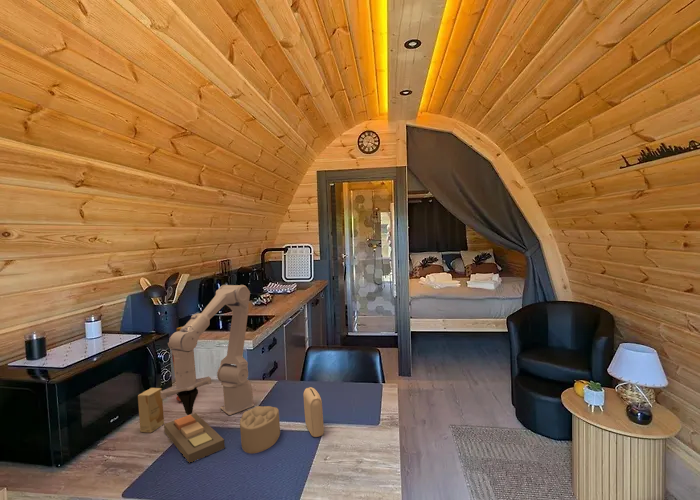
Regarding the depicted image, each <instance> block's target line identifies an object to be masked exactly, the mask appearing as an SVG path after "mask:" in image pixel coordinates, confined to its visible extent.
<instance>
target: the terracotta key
mask: <svg viewBox="0 0 700 500" xmlns="http://www.w3.org/2000/svg"><path fill="white" fill-rule="evenodd" d="M173 421H174V424H175V427H176V428H177V429H178V430H181V428H182V427H185V426H188V425H191V424H193V423H196V420H195V419H194V418H193V417H192V416H191V414H190V415H185V416H182V417H180V418H177V419H174V420H173Z"/></svg>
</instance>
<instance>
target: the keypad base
mask: <svg viewBox="0 0 700 500" xmlns="http://www.w3.org/2000/svg"><path fill="white" fill-rule="evenodd" d="M190 415H191V416H192V417H193V418H194V419H195V420H196V422H198V423H199V424H200V425H201V426H203V428H204V432H202V433H199V434H197V435H194V436H192V437H189V438H187V439H186V438H185V437H184V436H183V435H182V434H181V430H178V429H177V428H176V427H175V424H174V420H172V421H170V422H167V423H164V424H163V429H164V433H165V434H166V436H167V437H168V438H169V440H170V442H171V443H173V445H174V446H175V447H176V449H177V448H178V449H177V450H178V451H179V452H180V454H181V453H182V454H183V455H182V454H181V455H182V456H183V458H184V457H185V458H186V459H187V460H186V459H185V458H184V459H185V460H186V462H187V461H188V462H189V463H190V462H192V463H194V462H196V461H195V460H197V459H199V460H201V459H203V458H206V457H207V456H210V455H212V454H214V453H217V452H219V451H222V450H224V449H225V448H226V446H225V439H224V438H223V437H222V436H221V435H220V434H219V433H218V432H217V431H216V430H215V429H214V428H212V426H211V425H209V424H208V423H207V421H205V420H204V419H203V418H202V417H201V416H200V415H198V414H197V412H194V413H192V414H190ZM204 433H207V434H208V435H209V436H210V437H211V438H212V441H210V442H208V443H205V444H203V445H200V446H198V447H196V448H193V446H192V445H191V444H190V443H189V439H192V438H194V437H197V436H199V435H202V434H204ZM205 456H206V457H205ZM200 458H201V459H200ZM193 461H194V462H193ZM197 461H198V460H197ZM188 462H187V463H188ZM189 463H188V464H189ZM190 464H191V463H190Z"/></svg>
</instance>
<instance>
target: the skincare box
mask: <svg viewBox="0 0 700 500" xmlns="http://www.w3.org/2000/svg"><path fill="white" fill-rule="evenodd" d="M162 389H163V388H161V387H149V389H147V390H144V391H142V392H141V393H139V394H138V395H137V404H138V405H137V406H138V417H139V420H138V421H139V431H140V433H154V431H156V430H157V429H159V428H160V427H162V426H164V424H165V417H164V415H165V414H164V404H163V402H164V401H163V399H162V398H161V395H160V391H163V390H162Z"/></svg>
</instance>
